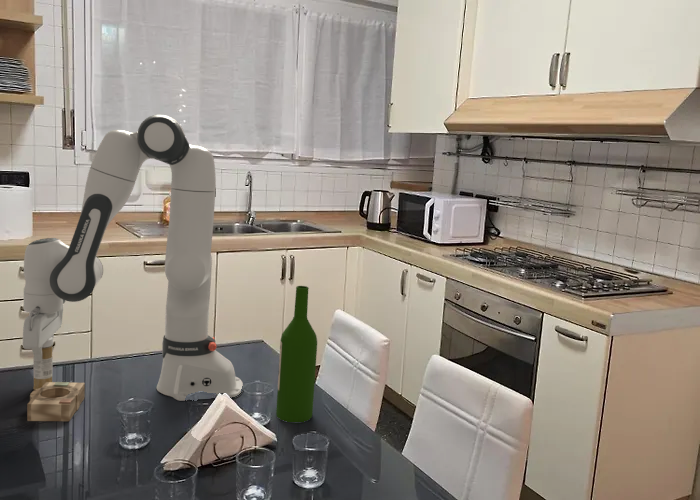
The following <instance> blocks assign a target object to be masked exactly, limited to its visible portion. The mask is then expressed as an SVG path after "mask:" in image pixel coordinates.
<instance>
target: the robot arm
mask: <svg viewBox="0 0 700 500" xmlns="http://www.w3.org/2000/svg"><path fill="white" fill-rule="evenodd" d="M149 159H152V160H156V161H160V162H161V163H165V164H167V165H169V167H170V172H171V183H170V199H169V218H168V219H169V221H168V228H167V238H166V248H165V258H164V259H165V260H164V274H165V277H166V279H167V282H168V283H167V293H166V304H165V318H164V319H165V322H164V335H163V337H162V344H161V354H162V364H161V371H160V375H159V379H158V383H157V385H156V390H157V392H158V393H161V394H163V395H165V396H168V397H171V398H173V399H174V400H175V401H176V400H177V401H181V402H182V401H185V398H186V396H187V395H188V394H191V393H195V392H198V391H204V392H207V393H216V394H219V393H227V394H228V395H229V396H230V397H231V398H230V399H232V397H235V396H237V395H239V394H240V393H241V389H242V386H243V387H244V383H243V380H241V378H239V377H237V376H236V372H235V367H234V365H233V363H232V362H231V360H229V359H228V358H226V357H225V356H224V355H222V354H221V353H220V352H219V351H217V350H216V349H217V343H216V339H215V337H214V336H210V335H209V316H210V302H211V301H210V300H211V299H210V298H211V280H212V270H213V269H212V265H213V256H212V245H213V231H214V220H215V202H216V188H217V187H216V186H217V185H216V181H217V179H216V166H215V158H214V155H213V153H212V152H211V151H210V150H208V149H207V148H206V147H202V146H200V145H193V144H190V143H189V142H188V139H187V137H186V134H185V131H184V129H183V127H182V125H181V124H180V122H178V120H176V119H175V118H173V117H172V116H169V115H165V114H154V115H150V116H148V117H146V118H145V119H144V120H143V121H142V122H140V124H139V127H138V129H137V130H136V131H135V132H132V131H128V130H124V129H112V130H110V131H108V132H107V133H105V135H104V136H103V138H102V140H101V142H100V144H99V145H98V147H97V149H96V152H95V154H94V156H93V159H92V161H91V164H90V166H89V170H88V173H87V178H86V182H85V183H86V184H85V187H84V194H83V200H82V205H81V210H80V216H79V218H78V222H77V224H76V227H75V229H74V230H75V231H74V232H73V236H72V238H71V240H70V245H68V244H66V243H65V242H63V241H62V240H61V239H60V238H56V237H47V238H41V239H38V240H37V239H36V240H34V241H32V242H30V243H29V244H28V245H27V246H26V248H25V252H24V257H23V258H24V259H23V260H24V261H23V277H24V280H25V284H24V287H23V311H25V312H26V313H28V316H26V317H25V319H24V322H23V329H22V347H23V349H24V350H31V351H32V354H33V362H34V361H41V360H42V359H43V353H42V347H43V344H44V343H45V342H46V341H47V340H48V339H49V338H50V337H52V338H53V339H54V334H56V333H57V332H58V331H59V330H60V329H61V327H62V324H63V323H62V322H63V315H64V314H63V313H64V304H65V302H70V303H77V302H81V301H84V300H85V299H87V298H88V297H89V296H91V294H92V293H93V292H94V290H95V287H96V286H97V285H98V283H99V282H100V280H101V279H102V278H103V274H104V265H103V264H102V261H101V259H99V257H98V256H97V255H98V252H99V250H100V247H101V243H102V240H103V237H104V235H105V232H106V230H107V228H108V226H109V225H110V223H111V221H112V220H113V219H114V218H115V216H116V215H117V214H118V213H119V212H120V211H121V210H122V209H123V208H124V207H125V205H126V203H127V202H128V200H129V198H130V196H131V194H132V192H133V190H134V187H135V184H136V181H137V179H138V175H139V172H140V170H141V168H142V165H143V164H144V163H145V162H146V161H147V160H149ZM241 394H242V393H241ZM241 394H240V395H241ZM240 395H239V396H240ZM237 397H238V396H237ZM235 398H236V397H235Z"/></svg>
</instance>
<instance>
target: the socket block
mask: <svg viewBox="0 0 700 500" xmlns="http://www.w3.org/2000/svg"><path fill="white" fill-rule="evenodd" d="M85 385H86V384H85V382H69V381H56V382H55V381H52V382H46V383H45V384H44V385H43V386H42V387H41V388H39V389H36V390H33V391H32V392H31V393H30V395H29V401H28V403H27V404H26V405H27V406H26V407H27V408H26V409H27V410H26V411H27V413H26V415H27V417H26V418H27V422H70V421H71V419H72V418H73V416H74V415H75V414H76V413H77V411H78V410H79V409H80V406H81V404H82V403H83V402H84V400H85V395H86V394H85V393H86V392H85V391H86V390H85V389H86V388H85V387H86V386H85Z"/></svg>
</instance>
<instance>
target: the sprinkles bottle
mask: <svg viewBox="0 0 700 500" xmlns="http://www.w3.org/2000/svg"><path fill="white" fill-rule="evenodd" d="M53 345H54V337H53V338H52V337H50V338H49V339H48V340H47V341H46V342H45V343H44V344H43V347H42V353H43V359H42V360H41V361H34V360H33V367H32V368H33V373H32V374H33V387H32V388H33V391H35V390H36V389H39V388H41V387H42V386H43V385H44V384H45V383H46V382H53Z"/></svg>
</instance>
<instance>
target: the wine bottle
mask: <svg viewBox="0 0 700 500" xmlns="http://www.w3.org/2000/svg"><path fill="white" fill-rule="evenodd" d="M309 289H310V288H309V286H306V285H297V286H296V287H295V297H294V298H295V301H294V313H293V317H292V320H290V322H289V323H288V325H287V327H286V328H285V329H284V330H283V332H282V333H281V337H280V343H279V356H278V357H279V358H278V359H279V360H278V375H277V377H278V378H277V395H276V409H275V411H276V413H275V415H276V417H278V418H280V419H281V420H284V421H287V422H303V423H305V422H304V421H307V420H309V419H310V418H311V419H312V418H313V411H314V410H313V409H314V400H315V399H314V395H315V382H316V381H315V380H316V367H317V355H318V352H317V351H318V338H317V337H318V336H317V334H316V332H315V329H313V327H312V324H311V323H310V320H308V304H309V302H308V301H309ZM278 418H277V419H278ZM280 419H279V420H280ZM311 419H310V420H311ZM281 420H280V421H281ZM310 420H309V421H310ZM284 421H283V422H284ZM287 422H286V423H287ZM307 422H308V421H307Z"/></svg>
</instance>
